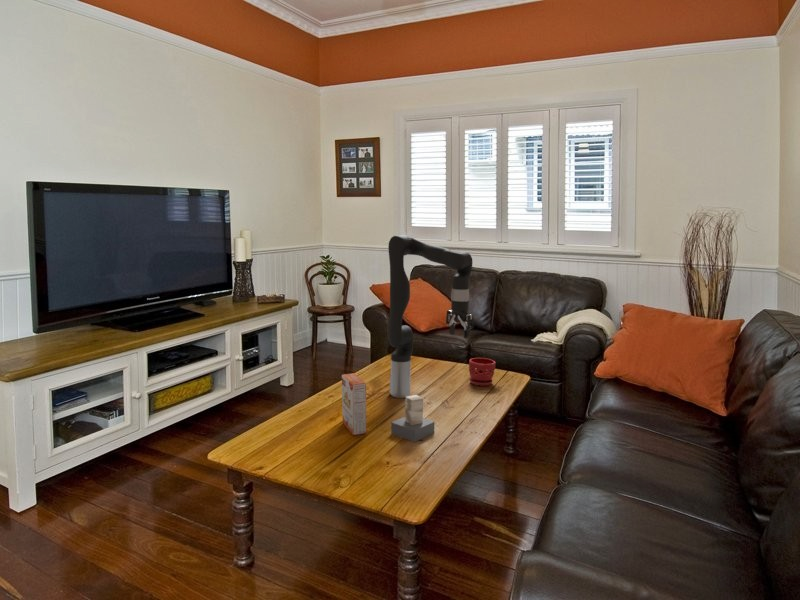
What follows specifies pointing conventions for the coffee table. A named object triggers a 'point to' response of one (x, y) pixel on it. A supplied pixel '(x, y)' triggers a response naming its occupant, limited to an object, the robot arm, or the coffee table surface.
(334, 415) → the coffee table surface
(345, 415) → the cracker box
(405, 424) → the flat gray square
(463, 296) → the robot arm
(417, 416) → the taupe block
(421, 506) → the coffee table surface
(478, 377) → the plant pot
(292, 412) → the coffee table surface
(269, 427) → the coffee table surface
